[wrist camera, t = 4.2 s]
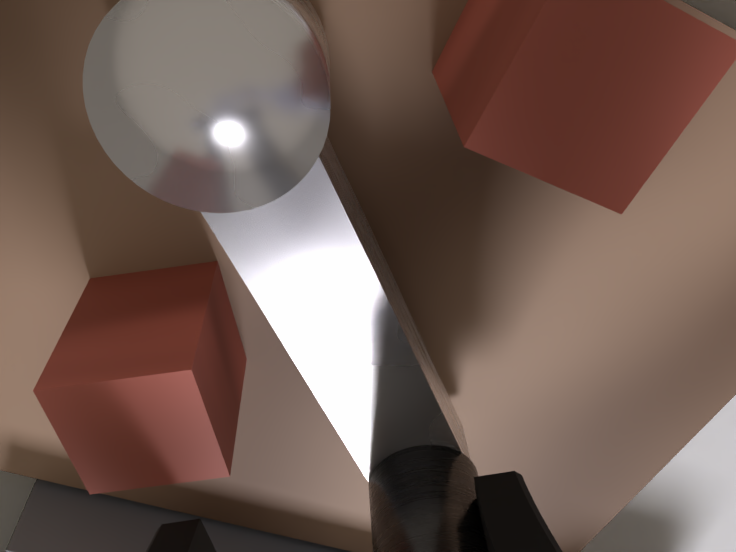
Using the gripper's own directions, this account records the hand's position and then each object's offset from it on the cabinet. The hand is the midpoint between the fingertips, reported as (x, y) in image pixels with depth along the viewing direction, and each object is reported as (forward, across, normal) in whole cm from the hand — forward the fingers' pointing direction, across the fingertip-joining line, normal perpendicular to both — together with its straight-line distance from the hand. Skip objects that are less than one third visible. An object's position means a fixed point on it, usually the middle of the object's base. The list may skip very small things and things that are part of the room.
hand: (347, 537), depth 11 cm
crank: (+2, -1, -4) cm, 4 cm away
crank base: (+3, -1, -2) cm, 4 cm away
